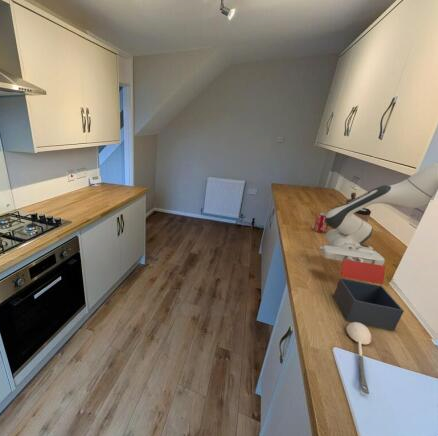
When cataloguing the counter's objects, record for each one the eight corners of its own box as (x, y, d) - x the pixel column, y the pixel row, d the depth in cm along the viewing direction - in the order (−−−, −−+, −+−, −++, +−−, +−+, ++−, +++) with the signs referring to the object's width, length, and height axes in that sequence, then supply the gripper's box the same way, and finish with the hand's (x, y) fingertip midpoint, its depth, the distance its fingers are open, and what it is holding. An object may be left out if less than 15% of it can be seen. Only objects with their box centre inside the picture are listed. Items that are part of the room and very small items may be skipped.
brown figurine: (356, 220, 178) (365, 194, 171) (342, 217, 182) (350, 192, 175) (355, 216, 186) (363, 191, 179) (341, 213, 191) (349, 189, 184)
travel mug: (341, 238, 146) (351, 208, 139) (348, 236, 149) (359, 206, 142) (355, 243, 140) (367, 211, 133) (362, 241, 143) (374, 210, 136)
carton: (333, 295, 95) (339, 278, 92) (373, 304, 91) (381, 285, 88) (346, 320, 83) (354, 300, 80) (393, 331, 79) (404, 310, 76)
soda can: (327, 231, 156) (333, 214, 152) (323, 234, 152) (328, 216, 148) (315, 228, 161) (320, 211, 157) (311, 230, 158) (315, 213, 153)
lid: (340, 276, 92) (340, 276, 92) (382, 284, 87) (381, 284, 88) (343, 259, 91) (343, 259, 92) (385, 266, 87) (385, 265, 88)
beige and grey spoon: (348, 314, 81) (344, 325, 82) (355, 372, 59) (349, 386, 60) (372, 322, 77) (367, 334, 79) (389, 387, 55) (381, 402, 57)
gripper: (319, 239, 107) (329, 253, 95) (376, 247, 100) (394, 263, 88) (316, 251, 109) (325, 266, 97) (371, 260, 103) (388, 277, 91)
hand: (358, 265), depth 93 cm, fingers closed
